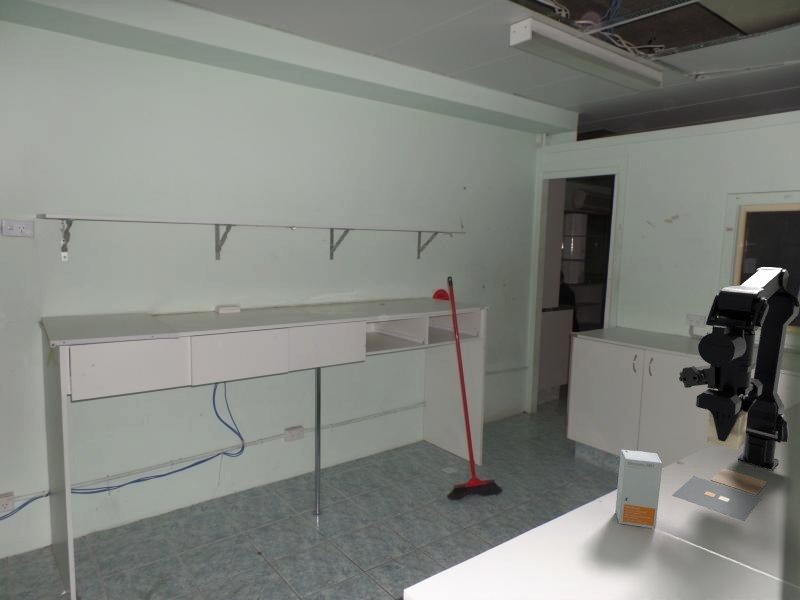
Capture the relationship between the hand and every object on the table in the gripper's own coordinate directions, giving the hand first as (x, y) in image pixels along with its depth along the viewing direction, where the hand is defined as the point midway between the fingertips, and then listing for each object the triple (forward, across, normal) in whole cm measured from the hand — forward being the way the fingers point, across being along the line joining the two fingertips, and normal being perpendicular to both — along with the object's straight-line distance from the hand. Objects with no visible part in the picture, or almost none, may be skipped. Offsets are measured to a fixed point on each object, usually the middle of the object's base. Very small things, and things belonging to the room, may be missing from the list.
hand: (726, 436), depth 100 cm
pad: (+12, -9, +1) cm, 15 cm away
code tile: (+12, +2, 0) cm, 12 cm away
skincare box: (+12, +22, -7) cm, 26 cm away
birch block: (+1, 0, 0) cm, 1 cm away
